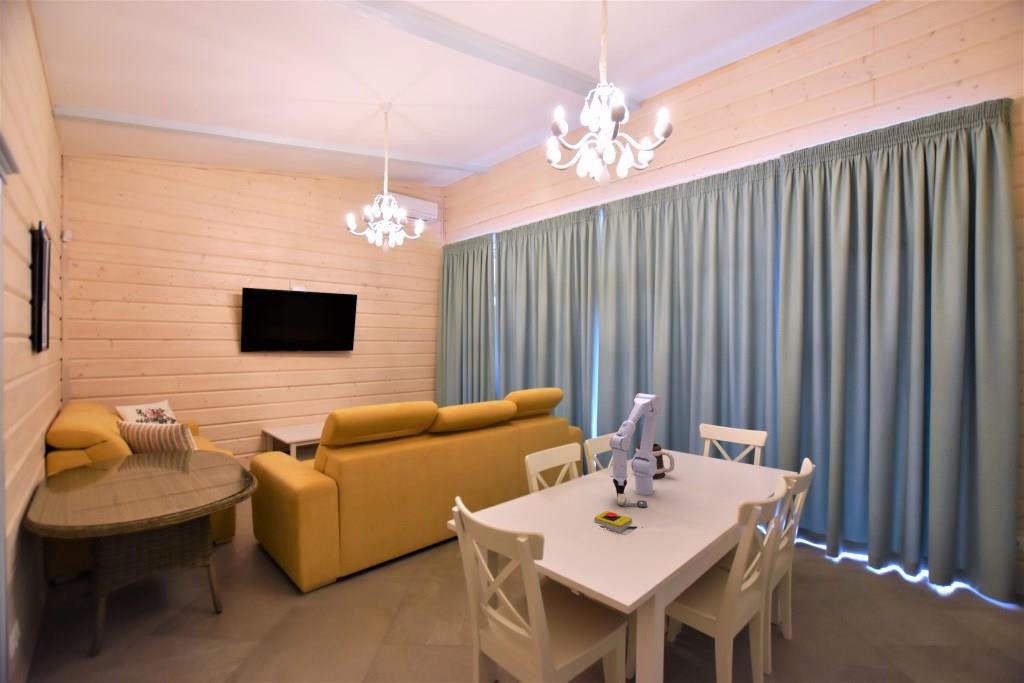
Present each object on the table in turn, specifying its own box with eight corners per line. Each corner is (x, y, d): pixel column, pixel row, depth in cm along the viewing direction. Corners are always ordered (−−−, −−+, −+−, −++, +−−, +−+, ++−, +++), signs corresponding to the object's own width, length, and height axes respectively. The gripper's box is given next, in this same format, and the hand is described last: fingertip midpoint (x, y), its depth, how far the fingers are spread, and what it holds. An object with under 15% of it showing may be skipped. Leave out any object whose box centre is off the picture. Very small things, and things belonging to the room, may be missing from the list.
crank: (646, 504, 188) (646, 492, 188) (648, 508, 184) (648, 496, 184) (617, 503, 189) (617, 492, 189) (618, 507, 185) (618, 495, 185)
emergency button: (603, 506, 179) (638, 516, 169) (603, 517, 179) (638, 528, 169) (589, 513, 172) (625, 524, 162) (589, 524, 172) (625, 536, 162)
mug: (629, 476, 229) (628, 445, 229) (640, 468, 241) (640, 440, 241) (669, 483, 217) (669, 451, 217) (679, 475, 229) (679, 445, 229)
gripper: (609, 459, 199) (609, 490, 199) (610, 469, 185) (611, 503, 185) (625, 460, 198) (626, 491, 198) (628, 469, 184) (629, 503, 184)
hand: (620, 497), depth 191 cm, fingers closed
